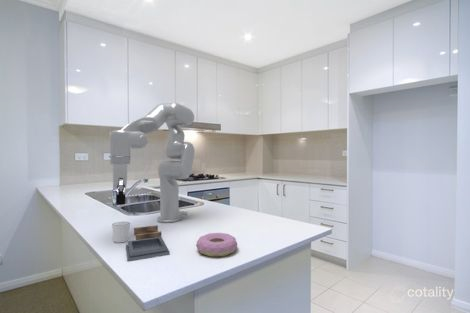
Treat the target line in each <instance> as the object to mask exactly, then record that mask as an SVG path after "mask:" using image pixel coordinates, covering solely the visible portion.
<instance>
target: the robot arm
mask: <svg viewBox="0 0 470 313" xmlns="http://www.w3.org/2000/svg"><path fill="white" fill-rule="evenodd" d="M194 120H195V114H194V112H193V110H192V109H190V108H188V107H186V106H184V105H183V104H180V103H178V102H165V103H164V102H163V103H159V104H156V106H155V107H153V108H152V110H150V111H149V112H148V113H147V114H146V115H144V116H142V117H141V118H138V119H136V120H133V121H131V122H130V123H128V124H126V125H125V126H124V127H123V126H122V128H121V129H119V130H118V129H115V130H112V131H110V138H109V140H110V142H109V144H110V149H109V151H110V154H109V156H110V159H109V160H110V161H109V162H110V163H109V164H110V165H112V189H113V190H115V189H116V190H115V200H116V202H115V203H116V205H117V206H120V205H126V194H125V193H126V188H127V184H128V165H131V150H132V149H136V150H137V149H138V150H139V149H143V148H145V147H146V146H147V145H148V143H149V137H148V134H150V133H154V132H157V131H158V130H159V129H160V128H161V127H162V126H163V125H164V124H166V128H167V129H168V138H167V142H166V147H165V152H164V153H165V157H166V158H167V159H169V160H164V161H162V162H160V163H159V165H158V167H157V172H158V177H159V186H160V187H159V188H160V189H159V191H160V192H159V195H160V196H159V200H160V201H159V202H160V203H159V205H160V206H159V207H160V208H159V209H160V210H159V211H160V212H159V216H158V217H157V219H156V220H157V222H159V223H165V224H166V223H177V222H180V221H181V220H182V216H188V211H181V210H180V208H179V204H180V203H179V201H180V200H179V194H180V193H179V192H180V191H179V190H180V189H179V183H178V181H177V180H186V179H188V178H190V176H191V172H192V168H193V163H194V159H195V147H194V145H193V143H191V142H189V141H185V132H184V130H183V129H182V127H181V126H189V125H191V124H192V123H193V122H194Z"/></svg>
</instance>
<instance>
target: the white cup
mask: <svg viewBox="0 0 470 313" xmlns="http://www.w3.org/2000/svg"><path fill="white" fill-rule="evenodd" d="M130 226H131V222H129V221H119V222H118V221H117V222H113V223H112V225H111V228H112V229H111V230H112V235H113V236H112V238H113V239H112V240H113V243H118V244H119V243H125V242H128V241H129V238H130Z"/></svg>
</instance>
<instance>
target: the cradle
mask: <svg viewBox="0 0 470 313" xmlns="http://www.w3.org/2000/svg"><path fill="white" fill-rule="evenodd" d="M125 252H126V259H127V262H133V261H138V260H145V259H149V258H150V259H151V258H155V257H156V256H158V257H163V255H164V256H168V255H171V254H170V250H169V248H168V246H167V244H166V242H165V240H164V238H162V236H161V237H156V238H148V239H141V240H136V239H134V240H133V239H132V240H128V241H127V243H126V244H125ZM156 258H157V257H156Z"/></svg>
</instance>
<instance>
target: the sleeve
mask: <svg viewBox="0 0 470 313" xmlns="http://www.w3.org/2000/svg"><path fill="white" fill-rule="evenodd" d="M133 234H134V235H133V236H135V240H141V239H148V238H156V237H162V231H161V230H160V231H159V225H158V224H157V225H149V226H141V227H134V228H133Z"/></svg>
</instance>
